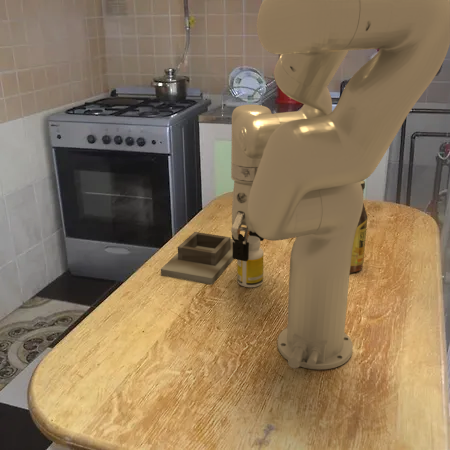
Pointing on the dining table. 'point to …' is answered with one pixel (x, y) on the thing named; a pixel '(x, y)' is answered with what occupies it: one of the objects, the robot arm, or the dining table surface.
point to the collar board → (200, 258)
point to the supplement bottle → (251, 265)
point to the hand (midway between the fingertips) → (248, 249)
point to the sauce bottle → (359, 240)
